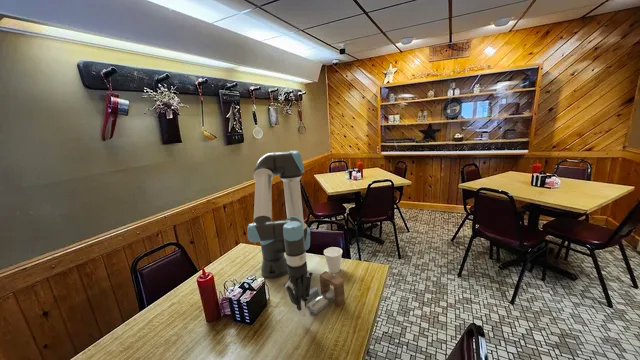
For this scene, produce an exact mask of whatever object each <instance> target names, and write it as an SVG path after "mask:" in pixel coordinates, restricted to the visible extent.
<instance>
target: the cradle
mask: <svg viewBox="0 0 640 360" xmlns="http://www.w3.org/2000/svg"><path fill="white" fill-rule="evenodd" d="M293 292H294V290H293ZM319 296H320V292H319V288H318V287H316V286H314V287H311V286H310V295H309V297H307V298H306V299H308V300H307V301H306V304H309V303H310V302H311V301H313V300H314V299H316V298H317V297H319Z"/></svg>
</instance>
